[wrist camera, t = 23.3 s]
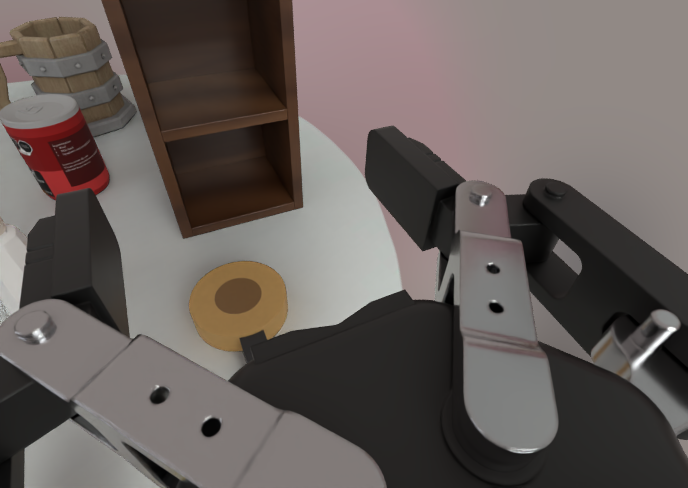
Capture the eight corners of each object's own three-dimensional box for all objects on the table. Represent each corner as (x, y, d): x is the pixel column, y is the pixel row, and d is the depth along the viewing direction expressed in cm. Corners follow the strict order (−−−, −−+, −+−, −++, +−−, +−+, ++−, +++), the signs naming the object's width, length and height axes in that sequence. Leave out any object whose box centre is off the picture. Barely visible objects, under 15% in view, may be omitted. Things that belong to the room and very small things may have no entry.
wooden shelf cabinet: (312, 221, 50) (300, -110, 28) (187, 255, 45) (60, -111, 24) (272, 156, 60) (241, -123, 39) (167, 179, 56) (65, -126, 34)
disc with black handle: (187, 293, 41) (181, 276, 40) (271, 267, 44) (269, 250, 43) (238, 502, 28) (232, 492, 27) (353, 446, 31) (354, 433, 29)
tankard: (116, 95, 73) (81, 2, 63) (146, 121, 67) (112, 21, 57) (-13, 130, 63) (-80, 26, 53) (8, 164, 57) (-64, 53, 46)
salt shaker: (22, 280, 42) (-46, 195, 34) (77, 275, 43) (23, 191, 35) (-2, 323, 38) (-84, 239, 31) (60, 317, 39) (-5, 233, 31)
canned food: (53, 173, 56) (9, 96, 48) (115, 166, 57) (82, 90, 50) (38, 207, 50) (-14, 126, 43) (107, 199, 52) (69, 119, 44)
